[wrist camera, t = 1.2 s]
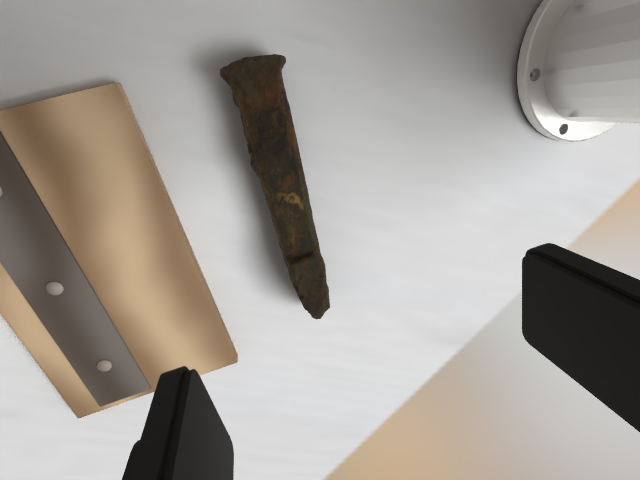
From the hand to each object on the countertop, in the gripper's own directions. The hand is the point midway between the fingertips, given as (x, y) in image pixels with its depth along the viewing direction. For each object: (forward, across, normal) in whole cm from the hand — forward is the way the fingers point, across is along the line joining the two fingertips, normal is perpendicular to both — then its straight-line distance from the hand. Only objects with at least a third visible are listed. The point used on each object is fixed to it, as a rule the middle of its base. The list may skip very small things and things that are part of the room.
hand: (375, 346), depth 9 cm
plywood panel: (+18, +14, +1) cm, 23 cm away
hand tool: (+19, 0, 0) cm, 19 cm away
